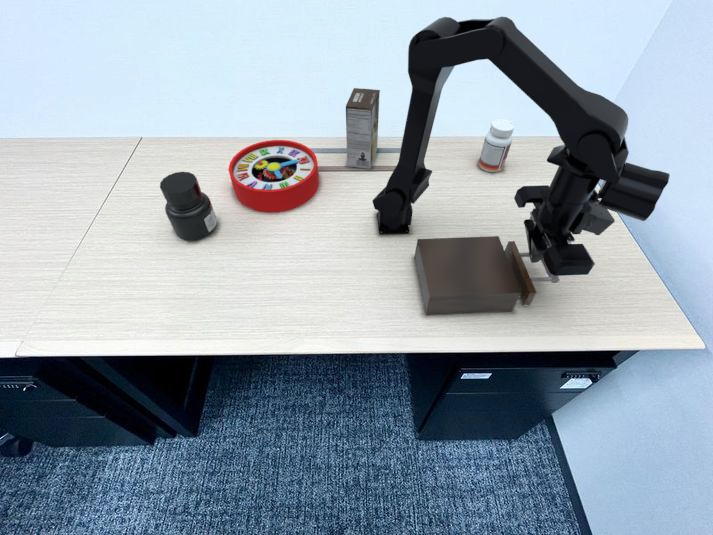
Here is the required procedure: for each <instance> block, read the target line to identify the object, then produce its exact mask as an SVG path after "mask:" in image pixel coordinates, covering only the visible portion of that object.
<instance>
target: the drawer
mask: <svg viewBox="0 0 713 535" xmlns="http://www.w3.org/2000/svg"><path fill="white" fill-rule="evenodd" d="M502 246H503V247H504V245H503V244H502ZM504 251H505V254H506V256H507V259H508V261H509V264H510V266H511V269H512V271H513V274H514V276H515V279H516V281H517V283H518V286H519V288H520V291H521V295H520V296H519V299H520V302H521V304H522V306H530V305H531V304H532V302H533V300H534V299H535V297H536V295H537V290H536V288H535V285H534V283H542V282H543V283H544V282H551V284H557V283H559V282H560V276H554V275H552V274H550V272H549V270H548V268H547V266H546V264H545V262H544V258H543V259H541V260H540V261H541V264H542V266H543V268H544V270H545V272H546V274H547V276H539V277H538V276H537V277H531V276H530V274H529V272H528V269H527V267H526V265H525V262H524V259H523V258H530V256H529V252H520V251H519V248H518V246H517V244H516V241H515V240H510V241H508V242H507V244H506V246H505V249H504Z"/></svg>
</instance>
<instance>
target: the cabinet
mask: <svg viewBox="0 0 713 535" xmlns="http://www.w3.org/2000/svg"><path fill="white" fill-rule="evenodd" d="M502 245H503V243H502V242H501V238H500V237H499V235H492V236H491V235H490V236H465V237H437V238H434V237H433V238H417V239H416V246H415V252H414V258H413V259H414V265H415V269H416V274H417V280H418V286H419V290H420V295H421V301H422V305H423V309H424V315H425V316H439V315H441V316H442V315H459V314H460V315H462V314H463V315H464V314H486V313H487V314H488V313H508V312H509V313H511V312H513V310H514V308H515V306H516V304H517V302H518V301H519V299H520V295H521V291H520V288H519V286H518V283H517V281H516V279H515V276H514V274H513V271H512V269H511V266H510V264H509V261H508V259H507V256H506V254H505V249H504V245H503V246H502Z"/></svg>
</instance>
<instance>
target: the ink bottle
mask: <svg viewBox="0 0 713 535" xmlns="http://www.w3.org/2000/svg"><path fill="white" fill-rule="evenodd" d="M159 188H160V190H161V193H162V195H163V198H164V199H165V201H166V203H165V206H164V212H165V214H166V217H167V218H168V221H169V223H170V226H171V227H172V229H173V231H174V233H175V235H176V236H177V237H178V238H179V239H181V240H182V241H186V242H196V241H197V242H198V241H200V240H204V239H207V238H208V237H210V236H211V235H212V234H214V233H215V231H216V230H217V228H218V224H219V222H218V219H217V215H216V213H215V210H214V206H213V204H212V202H211V199H210V197H209V196H208V195H207V194H206V193H205V192H203V191H202V189H201V186H200V184H199V181H198V178H197V176H196V175H195V174H194V173H191V172H190V171H178V172H174V173H171V174H170V173H169V174H168V175H167V176H165V177H164V178H162V179H161V181H160V182H159Z"/></svg>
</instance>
